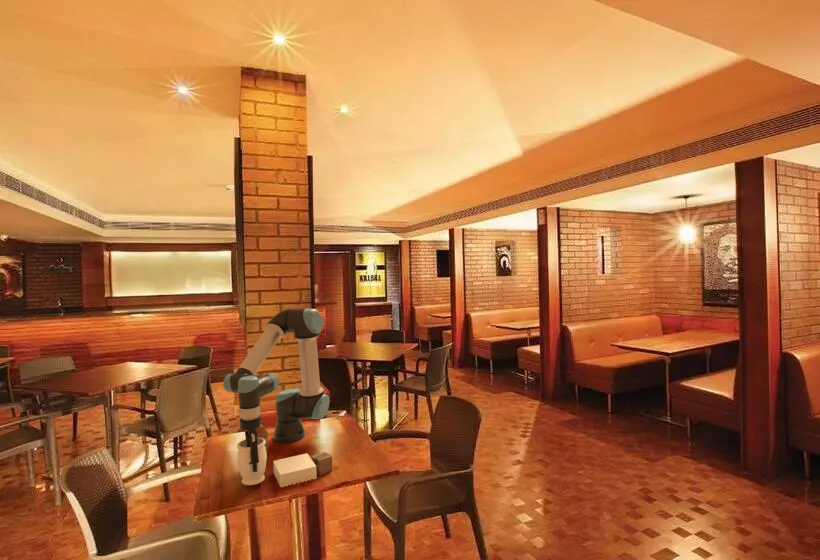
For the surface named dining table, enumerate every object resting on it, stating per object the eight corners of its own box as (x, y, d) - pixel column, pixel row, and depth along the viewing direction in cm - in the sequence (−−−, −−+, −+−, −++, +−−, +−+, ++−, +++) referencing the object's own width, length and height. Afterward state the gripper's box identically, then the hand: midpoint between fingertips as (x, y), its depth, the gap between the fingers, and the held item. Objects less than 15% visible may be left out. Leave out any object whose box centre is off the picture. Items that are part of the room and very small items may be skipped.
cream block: (273, 472, 177) (273, 460, 177) (307, 464, 184) (307, 453, 183) (280, 487, 165) (280, 474, 165) (316, 478, 171) (316, 466, 171)
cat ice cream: (256, 470, 180) (255, 427, 180) (244, 466, 184) (242, 424, 184) (273, 461, 188) (271, 420, 187) (261, 458, 192) (259, 417, 191)
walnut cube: (312, 470, 179) (311, 456, 178) (324, 465, 183) (324, 451, 182) (319, 475, 174) (319, 460, 174) (332, 470, 178) (332, 455, 178)
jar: (272, 474, 172) (270, 437, 171) (257, 488, 162) (256, 449, 161) (249, 472, 174) (247, 436, 174) (233, 486, 164) (231, 447, 164)
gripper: (236, 410, 175) (239, 463, 176) (243, 428, 155) (246, 489, 156) (256, 406, 179) (258, 459, 180) (265, 424, 159) (268, 483, 160)
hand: (252, 473), depth 168 cm, fingers closed on jar, 10 cm apart
